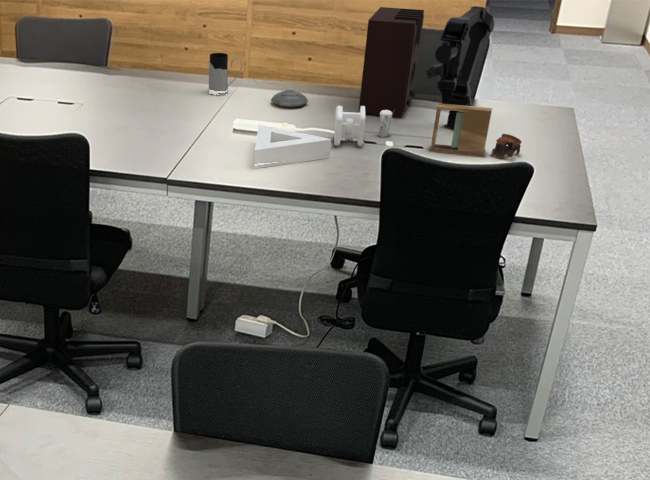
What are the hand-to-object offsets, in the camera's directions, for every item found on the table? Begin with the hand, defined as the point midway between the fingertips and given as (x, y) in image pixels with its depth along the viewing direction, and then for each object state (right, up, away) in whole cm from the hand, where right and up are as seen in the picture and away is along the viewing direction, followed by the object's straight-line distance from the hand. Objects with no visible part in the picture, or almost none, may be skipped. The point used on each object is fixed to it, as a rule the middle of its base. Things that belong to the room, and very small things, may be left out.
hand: (445, 103), depth 355 cm
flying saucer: (-52, +17, +42) cm, 69 cm away
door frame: (+2, -20, -7) cm, 21 cm away
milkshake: (-21, -9, +8) cm, 24 cm away
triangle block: (-63, -21, -7) cm, 67 cm away
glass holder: (-78, +27, +56) cm, 100 cm away
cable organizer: (-35, -14, +2) cm, 38 cm away
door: (+5, -18, -6) cm, 20 cm away
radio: (-13, +14, +38) cm, 43 cm away
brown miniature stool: (+19, -23, -10) cm, 32 cm away
